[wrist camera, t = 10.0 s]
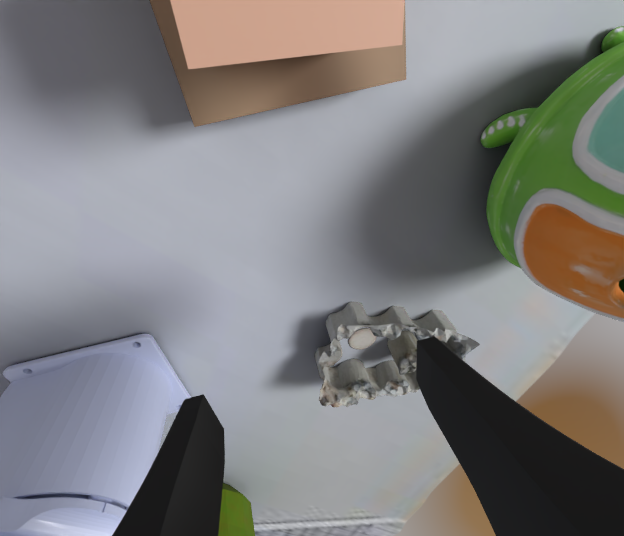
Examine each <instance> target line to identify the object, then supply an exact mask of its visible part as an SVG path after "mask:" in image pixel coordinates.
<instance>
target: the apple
mask: <svg viewBox="0 0 624 536" xmlns="http://www.w3.org/2000/svg"><path fill="white" fill-rule="evenodd" d="M218 536H255V532H254V525H253V518H252V510H251V503H250V502H249V500H248V499H247V498H246V497H245V496H244V495H243V494H241V493H240V492H239V491H237V490H236V489H234V488H233V487H231V486H230V485H227V484H225V483H223V488H222V500H221V511H220V522H219V533H218Z"/></svg>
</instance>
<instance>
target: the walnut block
mask: <svg viewBox="0 0 624 536" xmlns="http://www.w3.org/2000/svg"><path fill="white" fill-rule="evenodd" d="M150 3H151V6H152V9H153V12H154V14H155V17H156V20H157V23H158V26H159V28H160V31H161V34H162V37H163V40H164V42H165V45H166V48H167V51H168V54H169V56H170V59H171V62H172V65H173V68H174V70H175V73H176V76H177V79H178V82H179V84H180V87H181V90H182V93H183V96H184V98H185V101H186V104H187V107H188V110H189V112H190V115H191V118H192V121H193V124H194V126H195V127H196V126H201V125H205V124H210V123H214V122H219V121H223V120H228V119H232V118H237V117H241V116H245V115H250V114H254V113H259V112H263V111H268V110H272V109H277V108H281V107H285V106H290V105H294V104H299V103H303V102H308V101H312V100H317V99H321V98H326V97H330V96H334V95H339V94H343V93H348V92H352V91H357V90H361V89H366V88H370V87H374V86H379V85H383V84H388V83H392V82H397V81H401V80H406V40H405V3H404V22H403V41H402V45H398V46H389V47H380V48H371V49H363V50H354V51H345V52H336V53H327V54H319V55H310V56H301V57H292V58H284V59H275V60H266V61H257V62H249V63H240V64H231V65H222V66H213V67H205V68H196V69H188V66H187V62H186V59H185V55H184V51H183V47H182V43H181V39H180V36H179V32H178V28H177V24H176V20H175V17H174V13H173V9H172V5H171V1H170V0H150Z"/></svg>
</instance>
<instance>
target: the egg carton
mask: <svg viewBox="0 0 624 536" xmlns="http://www.w3.org/2000/svg"><path fill="white" fill-rule="evenodd" d="M326 327H327V330H328V333H329V336H330V340H331V343H330V344H329V345H327V346H324V347H318V348H317V351H316V353H315V359H316V363H317V367H318V371H319V375H320V378H321V379H323V380H324V384H323V385H322V388H321V389H320V397H319V401H320V403H321V404H322V406H327V405H331V406H333V407H339V406H346V407H348V406H349V405H353V404H358V400H359V398H366V399H370V400H373V399H375V398H376V396H385V395H387V396H392V397H396V396H400V395H404V394H407V393H409V392H417V391H418V390H419V389H420V387H419V385H418V382H417V380H416V362H417V339H418V340H422V339H426V338H430V337H434V336H435V337H436V338H438V339H439V340H440V341H441V342H442V343H443V344H444V345H446V346H447V347H448V348H449V349H450V350H451V351H452V352H454V353H455V354H456V355H457V356H458V357H459V358H461V359H462V360H463V361H464V362H465V356H466V354H468V353H469V352H470V351H471V350H473V349H475V348H476V347H477V346H478V345H480V344H479V343H478V342H476V341H474V340H472V339H470V338H469V337H466V336H464V335H461V334H458V333H457V331H456V328H455V327H454V326H453V324H452V323H451V322H450V321H449V319H448V318H447V316H446V315H445V314H444V313H443V312H442V311H441V310H431V311H430V312H429V313H428V314H427V315H426V316H424V317H423V318H421V319H418V320H411V319H410V317H409V316H408V314H407V312H406V311H405V309H404V307H400V306H391V307H390V309H389V310H388V311H387V312H385V313H384V314H382V315H380V316H376V317H369V316H367V314H366V312H365V310H364V308H363V305H362V303H358V302H349V303H348V304H347V306H346V307H345V308H344V309H343V310H341V311H339V312H337V313H333V314H330V315H329V316H328V319H327V321H326ZM361 327H369V328H370V329H369V328H362V329H359V328H361ZM403 328H405V329H407V330H408V331H406V330H404V331H401V330H402V329H403ZM357 329H358V330H357ZM412 332H414V333H415V336H416V337H415V336H414V334H413V333H412ZM376 337H387V338H388V339H389V340H388V343H387V346H388V348H389V350H390V352H391V355H392V357H393V359H394V361H393V360H390V361H384V362H382V363H380V364H379V365H378V366H376V367H375V368H366V369H365V367H364V364H363V363H362V362H361V361H360V360H358V359H349V360H346V361H343V362H342V363H341V364H339V366H338V367H330V366H333V365H334V364H335V363H336V362H337V361H339V360H340V358H341V357H342V348H341V345H340V342H339V340H341V339H343V338H349V340H348V342H349V345H350V346H351V347H352V348H354V349H365V348H367V347H369V346H371V345H372V344H373V343H374V342H375V341H376ZM416 338H417V339H416Z"/></svg>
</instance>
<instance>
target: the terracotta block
mask: <svg viewBox="0 0 624 536" xmlns="http://www.w3.org/2000/svg"><path fill="white" fill-rule="evenodd" d="M170 1H171V5H172V9H173V13H174V17H175V20H176V24H177V28H178V32H179V36H180V39H181V43H182V47H183V51H184V55H185V59H186V62H187V66H188V69H196V68H205V67H213V66H222V65H231V64H240V63H249V62H257V61H266V60H275V59H284V58H292V57H301V56H310V55H319V54H327V53H336V52H345V51H354V50H363V49H371V48H380V47H389V46H398V45H402V41H403V22H404V3H405V0H170Z"/></svg>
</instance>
